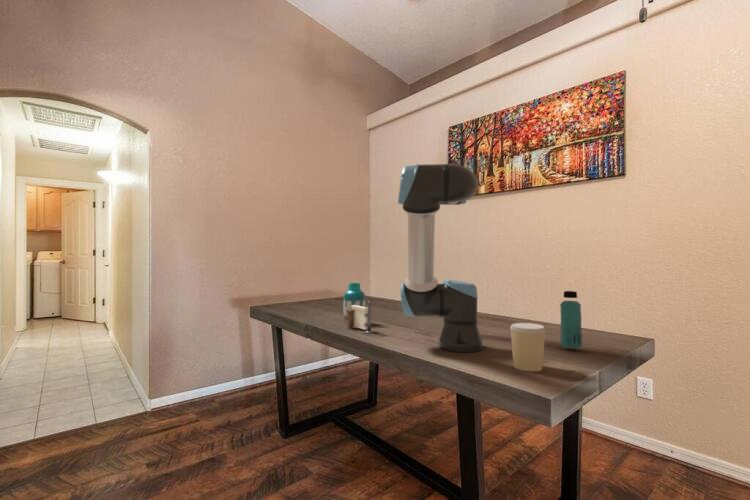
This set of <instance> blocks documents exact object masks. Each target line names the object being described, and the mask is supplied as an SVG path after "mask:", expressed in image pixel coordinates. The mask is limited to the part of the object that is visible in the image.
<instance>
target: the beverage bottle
mask: <svg viewBox="0 0 750 500" xmlns="http://www.w3.org/2000/svg"><path fill="white" fill-rule="evenodd" d="M563 298H565V299H566V298H567V299H578V292H577V291H572V290H567V291H563ZM581 307H582V304H580V302H579V301H577V300H563V301H562V302H561V303H560V328H559V329H560V332H559V334H560V338H559V339H560V344H561V346H563V347H565V348H571V349H579V348H581V347H582V345H583V343H582V342H583V334H582V323H583V322H582V308H581Z"/></svg>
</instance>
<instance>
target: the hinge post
mask: <svg viewBox="0 0 750 500" xmlns="http://www.w3.org/2000/svg"><path fill="white" fill-rule="evenodd" d="M366 304H367V305H366V306H367V308H368V330H365V331H364V333H365V334H374V332H375V331H374V330H372V328H371V327H372V325H371V321H372V320H371V318H372V317H371V315H372V314H371V312H372V311H371V310H372V309H371V308H372V307H371V306H372V301H371V300H367V302H366Z"/></svg>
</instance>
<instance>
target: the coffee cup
mask: <svg viewBox="0 0 750 500" xmlns="http://www.w3.org/2000/svg"><path fill="white" fill-rule="evenodd" d="M509 328H510V335H511V337H510V338H511V339H510V340H511V350H512V362H513V367H514V368H515V369H517V370H521V371H524V372H525V371H526V372H541V371H542V370H543V367H544V366H543V365H544V356H545V355H544V354H545V353H544V352H545V351H544V350H545V340H546V339H545V337H546V334H545V333H546V328H545V326H543V325H542V324H538V323H532V322H516V323H512V324H511V326H510V327H509Z"/></svg>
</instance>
